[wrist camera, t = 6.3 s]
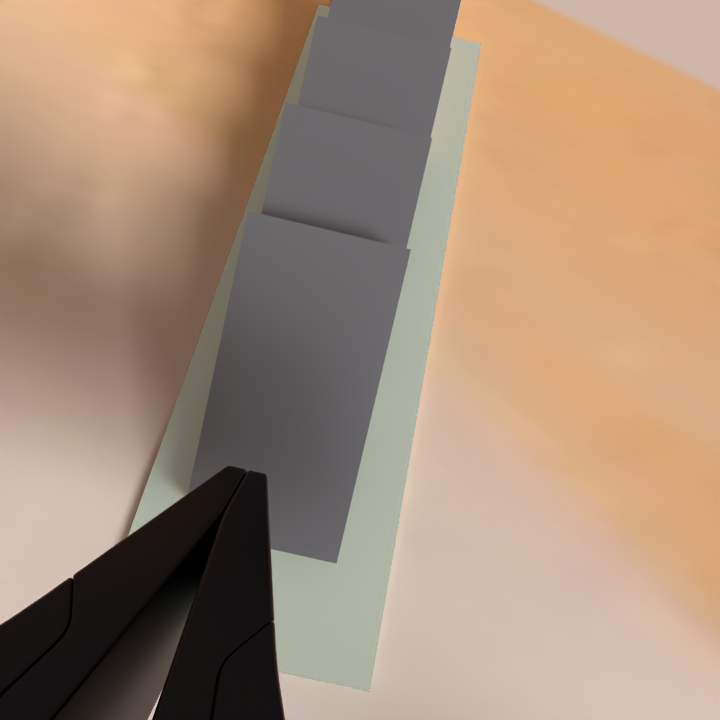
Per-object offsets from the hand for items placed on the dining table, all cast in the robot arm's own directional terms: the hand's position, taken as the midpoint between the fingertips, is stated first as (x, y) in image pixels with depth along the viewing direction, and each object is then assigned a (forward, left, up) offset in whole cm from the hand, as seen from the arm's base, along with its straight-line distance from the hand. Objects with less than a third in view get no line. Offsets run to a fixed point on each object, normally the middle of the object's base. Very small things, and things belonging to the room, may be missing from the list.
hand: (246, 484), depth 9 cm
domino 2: (+2, +2, -6) cm, 7 cm away
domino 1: (-1, -1, -6) cm, 6 cm away
